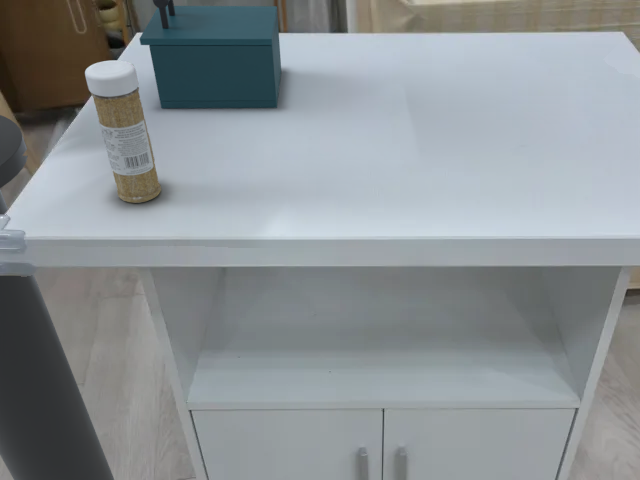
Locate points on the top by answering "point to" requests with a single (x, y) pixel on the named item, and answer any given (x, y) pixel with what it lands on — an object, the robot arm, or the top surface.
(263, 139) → the top surface
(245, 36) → the lid
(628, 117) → the top surface
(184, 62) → the teal hollow box
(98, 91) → the sprinkles bottle
